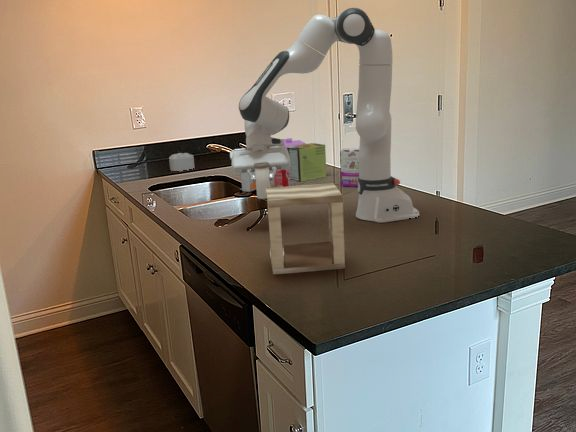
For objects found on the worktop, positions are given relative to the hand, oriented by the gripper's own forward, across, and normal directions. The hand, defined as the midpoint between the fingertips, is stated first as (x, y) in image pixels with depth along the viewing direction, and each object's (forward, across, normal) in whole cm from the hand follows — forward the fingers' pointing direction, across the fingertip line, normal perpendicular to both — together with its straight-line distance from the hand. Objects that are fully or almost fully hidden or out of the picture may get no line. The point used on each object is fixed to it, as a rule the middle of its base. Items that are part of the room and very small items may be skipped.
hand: (262, 180), depth 197 cm
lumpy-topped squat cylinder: (-77, -40, +100) cm, 133 cm away
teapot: (-71, +18, +96) cm, 121 cm away
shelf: (+36, +10, -11) cm, 39 cm away
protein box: (-44, +24, +69) cm, 85 cm away
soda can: (-22, +10, +47) cm, 53 cm away
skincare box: (-32, -4, +57) cm, 65 cm away
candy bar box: (-27, +42, +52) cm, 72 cm away
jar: (+4, 0, +5) cm, 6 cm away
